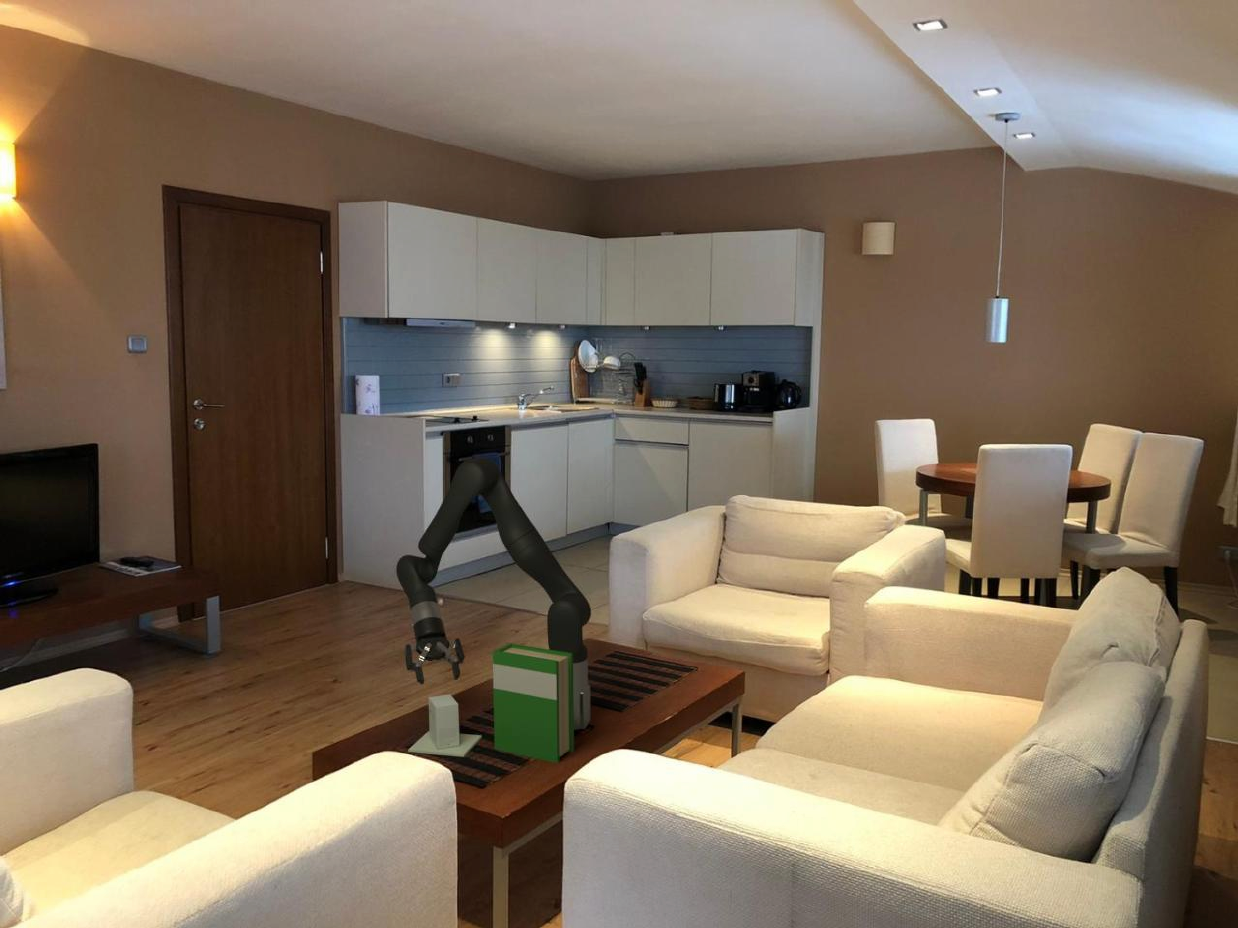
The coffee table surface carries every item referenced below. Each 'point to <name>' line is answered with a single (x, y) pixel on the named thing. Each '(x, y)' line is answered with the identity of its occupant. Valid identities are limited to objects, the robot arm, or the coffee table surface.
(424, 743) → the sage mat
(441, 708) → the small box
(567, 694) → the hardback book
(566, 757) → the coffee table surface
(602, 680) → the coffee table surface
